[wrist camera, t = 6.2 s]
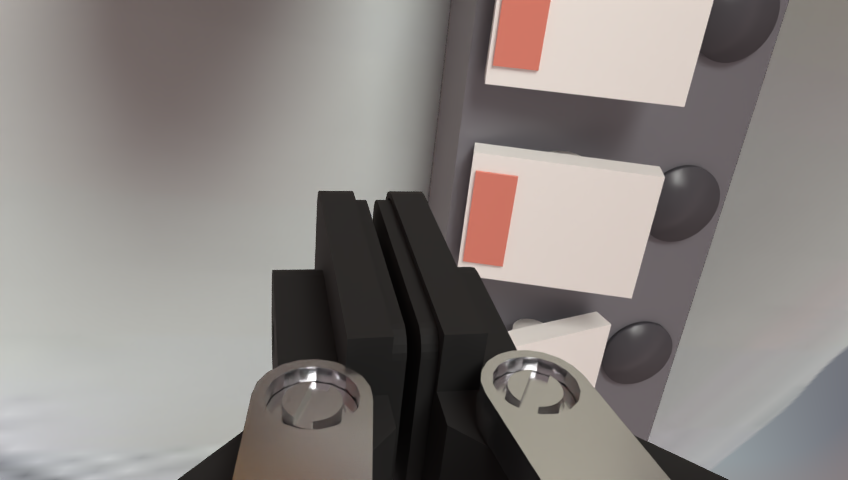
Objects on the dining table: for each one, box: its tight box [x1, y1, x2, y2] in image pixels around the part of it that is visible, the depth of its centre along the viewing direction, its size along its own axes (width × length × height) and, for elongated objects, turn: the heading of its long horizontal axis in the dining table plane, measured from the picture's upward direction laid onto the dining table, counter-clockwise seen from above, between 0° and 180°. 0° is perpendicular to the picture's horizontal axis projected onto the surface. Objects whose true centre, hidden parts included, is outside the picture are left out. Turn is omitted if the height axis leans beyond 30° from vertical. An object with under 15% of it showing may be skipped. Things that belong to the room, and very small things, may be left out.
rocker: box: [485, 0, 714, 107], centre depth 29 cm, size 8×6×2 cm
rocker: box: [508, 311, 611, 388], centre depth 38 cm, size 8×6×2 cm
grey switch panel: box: [428, 0, 789, 441], centre depth 37 cm, size 14×36×4 cm, turn 175°
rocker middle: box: [458, 142, 665, 299], centre depth 33 cm, size 8×6×2 cm
